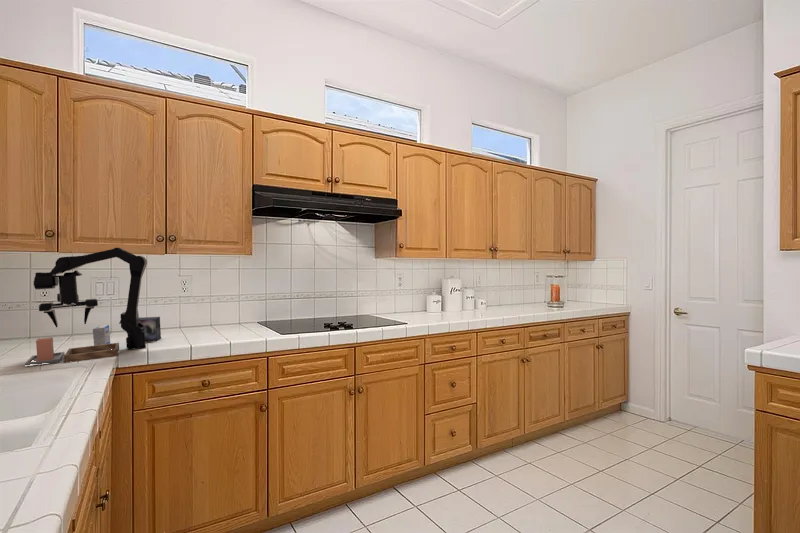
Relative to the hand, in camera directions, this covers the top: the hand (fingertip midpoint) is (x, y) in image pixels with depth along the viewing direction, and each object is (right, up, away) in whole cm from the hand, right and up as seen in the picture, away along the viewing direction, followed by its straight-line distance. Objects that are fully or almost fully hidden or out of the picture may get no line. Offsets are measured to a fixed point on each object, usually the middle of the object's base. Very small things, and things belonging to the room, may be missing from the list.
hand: (71, 325), depth 175 cm
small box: (+17, -10, +24) cm, 31 cm away
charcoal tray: (-2, -12, -10) cm, 16 cm away
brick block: (-2, -12, -10) cm, 15 cm away
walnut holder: (+10, -12, -2) cm, 16 cm away
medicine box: (+2, -11, +15) cm, 19 cm away
